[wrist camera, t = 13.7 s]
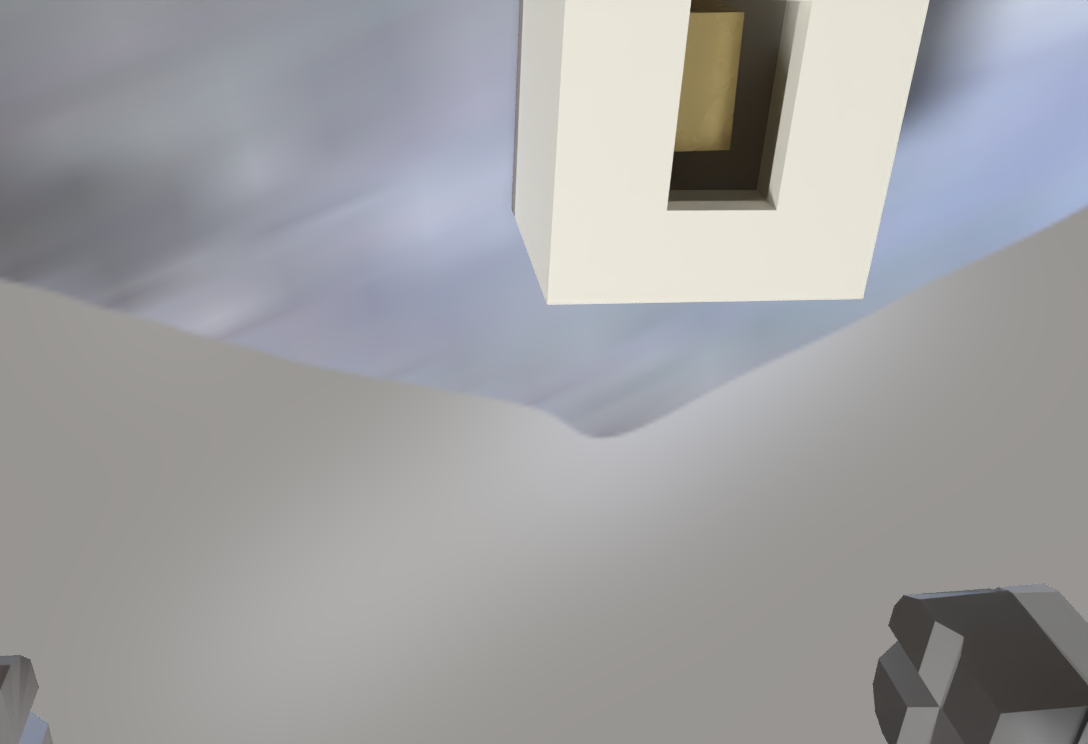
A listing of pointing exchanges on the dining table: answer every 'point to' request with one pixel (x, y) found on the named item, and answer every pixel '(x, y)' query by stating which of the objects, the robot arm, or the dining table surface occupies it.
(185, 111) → the dining table surface
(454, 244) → the dining table surface
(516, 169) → the money box
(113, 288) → the dining table surface
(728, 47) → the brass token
